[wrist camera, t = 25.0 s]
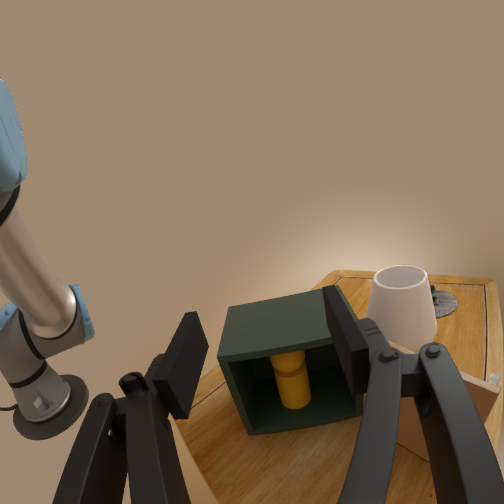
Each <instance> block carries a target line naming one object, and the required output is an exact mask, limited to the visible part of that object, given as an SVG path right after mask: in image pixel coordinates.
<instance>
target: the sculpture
mask: <svg viewBox="0 0 504 504" xmlns="http://www.w3.org/2000/svg"><path fill="white" fill-rule="evenodd" d="M430 290H431V295H432V300H433V305H434V310H435V316H436V318H437V317H441V316H444V315H448V314H451V313H452V312H453V311H454V310H455V309H456V307H457V306H458V301H457V299H456V297H455V296H454V295H453V294H451V293H449V292H446V291H443V290H439V291H436V290H435V287H434V286H433V285H430Z"/></svg>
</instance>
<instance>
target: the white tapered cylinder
mask: <svg viewBox="0 0 504 504" xmlns="http://www.w3.org/2000/svg"><path fill="white" fill-rule="evenodd" d="M365 318H370V319H371V320H373V321H375V323H376V324H377V326H378V328H379V329H380V330H381V332H382V333H383V335H384V336H385V338H386V339H387V340H389V341H391V342H394V343H396V344H398V345H400V346H403V347H405V348H407V349H410V350H412V351H414V352H416V353H419V350H420V348H421V347H422V346H423V345H425V344H427V343H432V342H433V340H434V337H435V335H436V332H437V322H436V316H435V310H434V305H433V300H432V295H431V290H430V285H429V281H428V277H427V274H426V272H425V271H424V270H423V269H421V268H419V267H416V266H412V265H395V266H390V267H387V268H384V269H382V270H380V271H378V272H377V273H376V274H375V275H374V277H373V283H372V288H371V292H370V297H369V302H368V306H367V311H366V315H365Z"/></svg>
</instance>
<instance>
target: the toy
mask: <svg viewBox="0 0 504 504" xmlns="http://www.w3.org/2000/svg"><path fill="white" fill-rule="evenodd" d="M304 359H305V351H304V350H300V351H295V352H290V353H285V354H279V355H274V356H270V361H271V363H272V365H273V366H274V374H275V378H276V382H277V386H278V390H279V394H280V398H281V402H282V404H283V405H284V406H285V407H287V408H289V409H299V408H302V407H304V406H306V405H307V404H308V403H309V402H310V400H311V393H310V386H309V380H308V373H307V367H306V363H305V361H304Z"/></svg>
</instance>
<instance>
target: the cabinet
mask: <svg viewBox="0 0 504 504" xmlns="http://www.w3.org/2000/svg"><path fill="white" fill-rule="evenodd" d="M335 287H336V289H337V290H338V292H339V294H340V296H341V297H342V299H343V301H344V303H345V304H346V306H347V308H348V310H349V312H350V313H351V315H352V317H353V319H354V321H356V320H359V319H358V318H357V316H356V314H355V313H354V311H353V309H352V308H351V306H350V304H349V302H348V301H347V299H346V297H345V296H344V294H343V292H342V291H341V289H340V287H339V286H338V285H336V286H335ZM300 350H304V351H305V359H304V361H305V363H306V367H307V373H308V380H309V386H310V393H311V400H310V402H309V403H308V404H307V405H306V406H304V407H302V408H299V409H289V408H287V407H285V406H284V405H283V404H282V402H281V398H280V394H279V390H278V386H277V382H276V378H275V374H274V366H273V365H272V363H271V361H270V356H274V355H279V354H285V353H290V352H295V351H300ZM217 359H218V362H219V364H220V367H221V370H222V372H223V375H224V377H225V380H226V382H227V385H228V388H229V390H230V393H231V395H232V398H233V400H234V402H235V405H236V407H237V410H238V412H239V415H240V417H241V419H242V422H243V424H244V426H245V429H246V431H247V433H248V435H259V434H268V433H276V432H283V431H290V430H296V429H302V428H308V427H313V426H318V425H323V424H328V423H332V422H337V421H341V420H345V419H349V418H353V417H357V416H360V415H362V414H363V397H364V394H360V395H357V396H352V393H351V391H350V388H349V385H348V382H347V379H346V376H345V373H344V370H343V368H342V365H341V362H340V359H339V356H338V354H337V351H336V348H335V345H334V343H333V340H332V337H331V335H330V332H329V329H328V327H327V321H326V313H325V305H324V298H323V290H322V289H318V290H313V291H308V292H304V293H299V294H294V295H289V296H284V297H280V298H274V299H269V300H264V301H259V302H253V303H248V304H242V305H237V306H231V307H229V308H228V312H227V316H226V320H225V324H224V328H223V333H222V337H221V341H220V345H219V349H218V354H217Z"/></svg>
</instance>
